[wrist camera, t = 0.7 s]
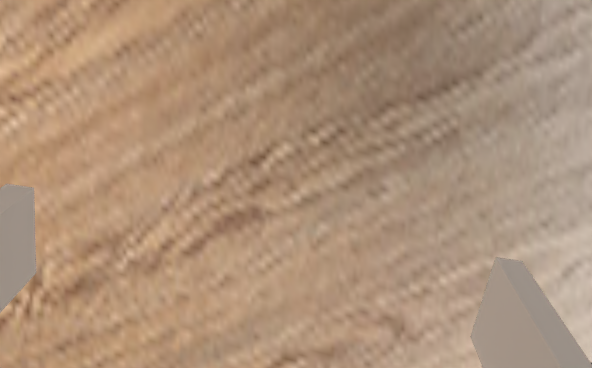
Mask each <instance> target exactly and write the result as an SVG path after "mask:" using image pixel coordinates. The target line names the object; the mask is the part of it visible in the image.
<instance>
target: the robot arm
mask: <svg viewBox="0 0 592 368" xmlns="http://www.w3.org/2000/svg"><path fill="white" fill-rule="evenodd" d="M35 274H36V246H35V208H34V188H32V187H25V186H19V185H12V184H5V185H4V186H3V187H1V188H0V312H1V311H2V310H3V309H4V308H5V307H6V306H7V305H8V304H9V302H10V301H11V300H12V299H13V298H14V297H15V296H16V295H17V294H18V292H19V291H20V290H21V289H22V288H23V287H24V286H25V285H26V284H27V282H28V281H29V280H30V279H31V278H32V277H33V276H34V275H35ZM470 337H471V339H472V342H473V344H474V347H475V349H476V352H477V354H478V357H479V359H480V362H481V364H482V367H483V368H592V363H590V361H589V360H588V358H587V357H586V355H585V354H584V352H583V351H582V349H581V348H580V346H579V345H578V343H577V342H576V340H575V339H574V337H573V336H572V334H571V333H570V331H569V330H568V328H567V327H566V325H565V324H564V322H563V321H562V320H561V318H560V317H559V315H558V314H557V312H556V311H555V309H554V308H553V306H552V305H551V303H550V302H549V300H548V299H547V297H546V296H545V294H544V293H543V291H542V290H541V288H540V287H539V285H538V284H537V282H536V281H535V279H534V278H533V276H532V275H531V273H530V272H529V271H528V269H527V268H526V266H525V265H524V263H523V262H522V261H518V260H511V259H505V258H498V257H496V258H495V261H494V264H493V267H492V270H491V273H490V277H489V280H488V283H487V286H486V289H485V292H484V295H483V299H482V302H481V305H480V308H479V311H478V314H477V317H476V321H475V324H474V327H473V330H472V333H471V336H470Z"/></svg>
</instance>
